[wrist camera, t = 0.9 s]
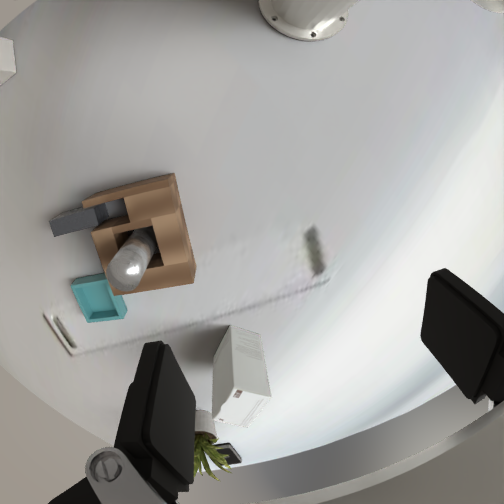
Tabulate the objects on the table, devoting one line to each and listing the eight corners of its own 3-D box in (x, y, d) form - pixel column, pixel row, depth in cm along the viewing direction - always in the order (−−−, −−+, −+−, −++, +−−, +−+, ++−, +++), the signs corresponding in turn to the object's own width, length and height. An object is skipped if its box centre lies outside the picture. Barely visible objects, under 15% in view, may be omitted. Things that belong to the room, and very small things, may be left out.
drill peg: (131, 226, 40) (101, 261, 29) (156, 220, 40) (133, 255, 29) (138, 251, 41) (113, 293, 30) (163, 246, 41) (144, 288, 31)
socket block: (96, 192, 37) (81, 201, 33) (174, 172, 38) (167, 179, 33) (123, 279, 43) (113, 296, 38) (196, 266, 43) (193, 283, 39)
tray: (76, 278, 42) (70, 285, 40) (112, 271, 42) (107, 279, 40) (92, 314, 45) (87, 322, 43) (127, 309, 45) (123, 318, 43)
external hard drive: (218, 460, 68) (218, 465, 67) (204, 444, 64) (204, 450, 62) (241, 457, 68) (242, 462, 66) (229, 440, 64) (229, 447, 62)
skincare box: (241, 364, 52) (248, 430, 38) (211, 355, 50) (210, 422, 37) (261, 331, 49) (275, 399, 36) (229, 321, 48) (232, 390, 34)
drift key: (61, 213, 38) (49, 221, 34) (104, 200, 38) (93, 208, 34) (66, 227, 39) (54, 236, 35) (108, 216, 39) (98, 225, 35)
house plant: (176, 434, 61) (172, 490, 46) (156, 402, 55) (147, 465, 40) (233, 430, 61) (237, 488, 46) (220, 397, 55) (223, 464, 40)
